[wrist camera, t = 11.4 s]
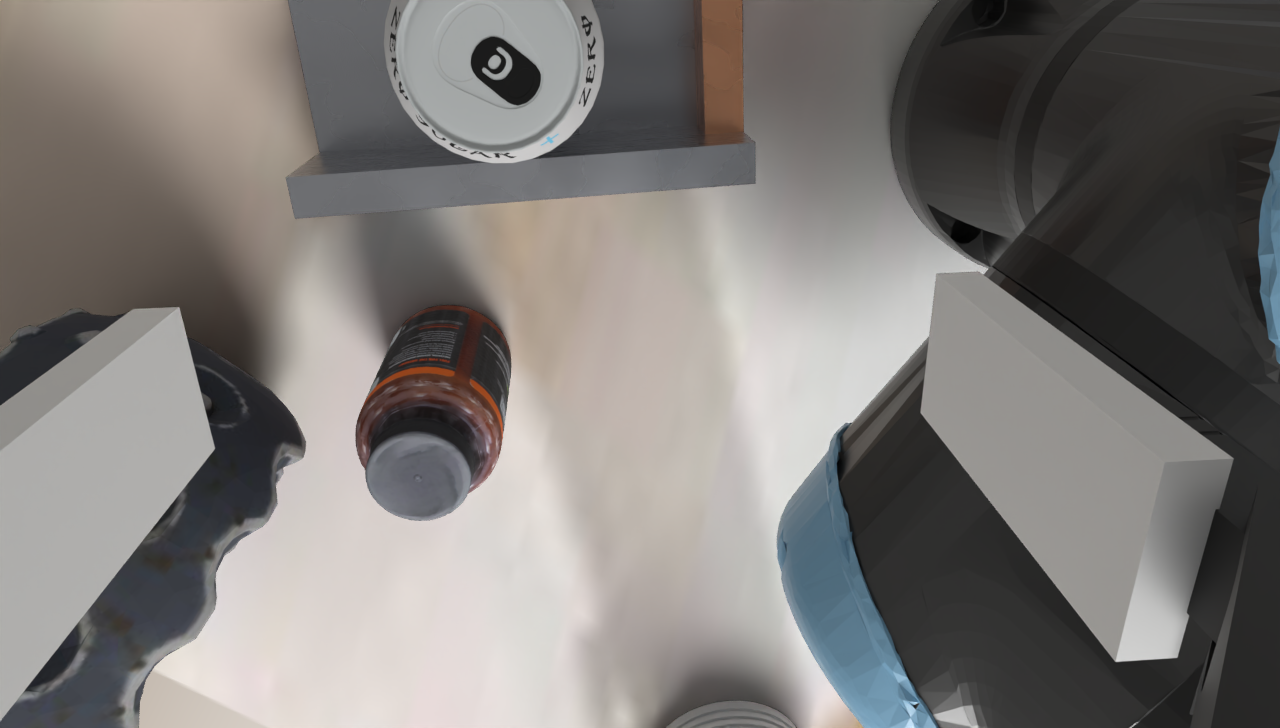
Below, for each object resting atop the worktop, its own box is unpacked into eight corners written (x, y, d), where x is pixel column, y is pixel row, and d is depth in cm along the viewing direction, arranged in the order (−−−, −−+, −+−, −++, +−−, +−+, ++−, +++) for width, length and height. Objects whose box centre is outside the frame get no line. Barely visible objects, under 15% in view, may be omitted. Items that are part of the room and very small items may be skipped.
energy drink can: (503, -88, 34) (459, -129, 21) (621, 15, 36) (653, 41, 23) (417, 38, 36) (325, 78, 22) (535, 131, 38) (516, 219, 24)
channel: (724, -147, 35) (753, -169, 30) (729, 153, 40) (755, 183, 35) (271, -120, 34) (213, -137, 29) (334, 183, 39) (294, 218, 34)
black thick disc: (-12, 529, 45) (-401, 902, 27) (155, 222, 40) (-197, 435, 21) (186, 618, 49) (-43, 1006, 30) (367, 346, 43) (218, 624, 25)
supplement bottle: (365, 344, 43) (301, 462, 32) (462, 277, 42) (427, 377, 31) (443, 431, 45) (406, 567, 35) (537, 369, 44) (527, 491, 34)
